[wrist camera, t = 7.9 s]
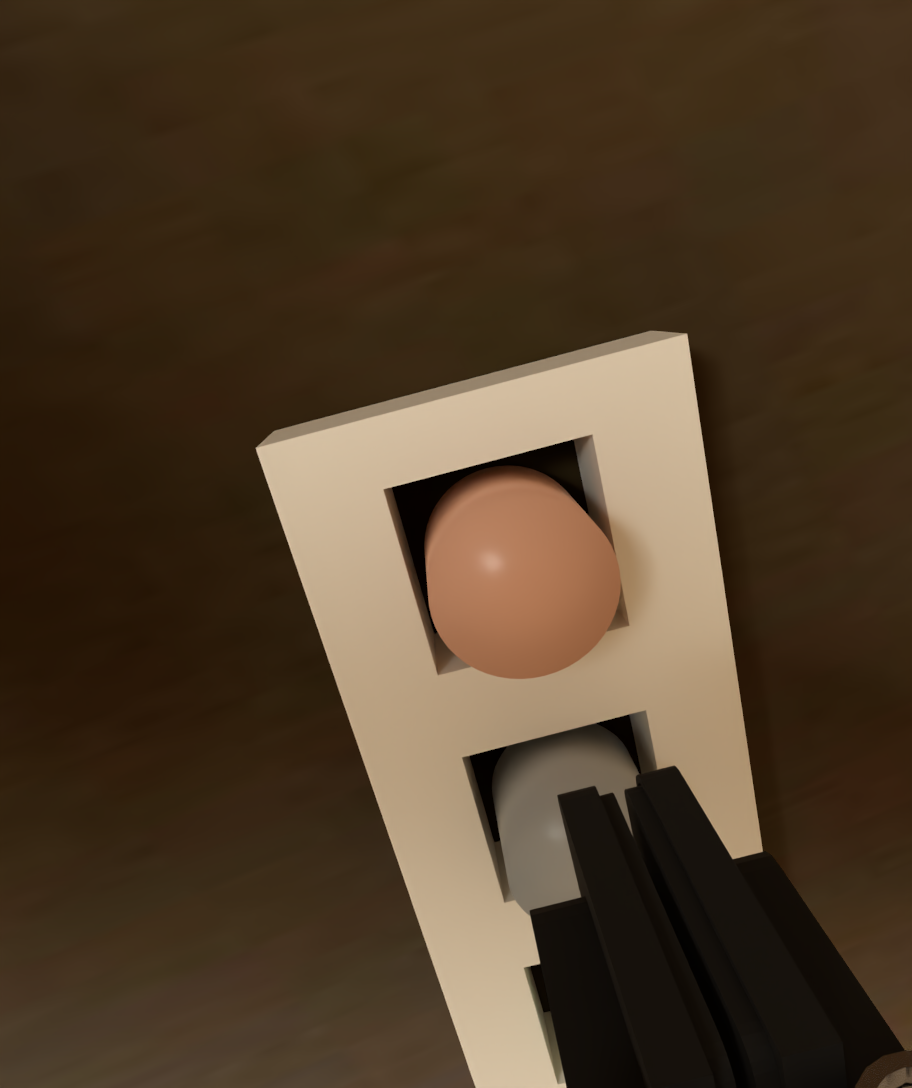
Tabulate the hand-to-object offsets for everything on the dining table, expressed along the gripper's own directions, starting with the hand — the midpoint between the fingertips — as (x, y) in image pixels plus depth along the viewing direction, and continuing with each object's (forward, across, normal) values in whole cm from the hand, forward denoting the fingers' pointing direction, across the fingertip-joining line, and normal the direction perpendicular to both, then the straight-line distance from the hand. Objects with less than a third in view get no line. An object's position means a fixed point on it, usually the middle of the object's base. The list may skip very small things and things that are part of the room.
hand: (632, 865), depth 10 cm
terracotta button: (+13, 0, 0) cm, 13 cm away
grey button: (+13, 0, +9) cm, 16 cm away
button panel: (+15, 0, +9) cm, 17 cm away
